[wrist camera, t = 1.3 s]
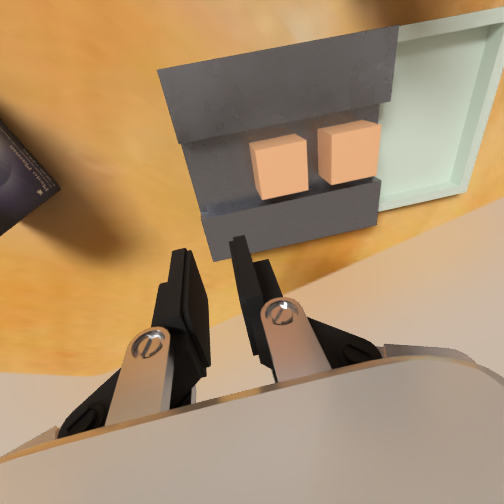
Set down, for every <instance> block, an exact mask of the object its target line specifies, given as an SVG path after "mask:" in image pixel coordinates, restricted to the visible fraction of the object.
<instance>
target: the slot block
mask: <svg viewBox="0 0 504 504" xmlns="http://www.w3.org/2000/svg"><path fill="white" fill-rule="evenodd" d="M398 33H399V25H394V26H389V27H384V28H378V29H373V30H368V31H362V32H357V33H351V34H346V35H341V36H335V37H330V38H325V39H319V40H314V41H309V42H303V43H298V44H293V45H287V46H282V47H277V48H271V49H266V50H260V51H255V52H250V53H244V54H239V55H234V56H228V57H223V58H218V59H212V60H207V61H202V62H196V63H191V64H185V65H180V66H175V67H169V68H164V69H159V70H157V72H158V75H159V78H160V82H161V85H162V89H163V92H164V96H165V99H166V102H167V106H168V109H169V113H170V116H171V119H172V123H173V126H174V130H175V133H176V136H177V140H178V143H179V144H181V146H182V149H183V153H184V156H185V160H186V163H187V167H188V170H189V174H190V177H191V180H192V184H193V187H194V191H195V194H196V198H197V201H198V205H199V208H200V212H201V222H202V225H203V228H204V232H205V235H206V239H207V242H208V245H209V249H210V252H211V256H212V259H213V262H216V261H220V260H225V259H229V258H232V257H231V252H230V247H229V241H233V237H237V236H241V235H245V238H246V241H247V244H248V248H249V251H250V254H251V253H256V252H260V251H265V250H269V249H273V248H278V247H282V246H287V245H291V244H296V243H300V242H304V241H309V240H313V239H318V238H322V237H327V236H331V235H335V234H340V233H344V232H349V231H353V230H358V229H362V228H366V227H371V226H375V225H377V217H378V208H379V200H380V191H381V182H382V180H380V179H378V178H376V177H375V176H371V177H367V178H362V179H358V180H353V181H348V182H344V183H339V184H334V185H331V184H329V183H328V182H327V181H326V180H324V179H323V178H322V177H321V176H319V175H318V134H317V129H320V128H324V127H329V126H334V125H339V124H344V123H349V122H354V121H359V120H365V121H369V122H373V123H377V124H378V118H379V107H380V103H385V102H390V101H391V94H392V85H393V77H394V68H395V59H396V50H397V41H398ZM290 134H296V135H298V136H300V137H302V138H303V139H305V140H306V142H307V166H308V189H309V190H307V191H302V192H297V193H293V194H288V195H283V196H279V197H274V198H270V199H265V200H262V199H261V197H260V195H259V193H258V191H257V189H256V185H255V179H254V173H253V166H252V160H251V153H250V147H249V143H251V142H256V141H261V140H266V139H271V138H275V137H280V136H285V135H290Z"/></svg>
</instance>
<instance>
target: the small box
mask: <svg viewBox="0 0 504 504" xmlns="http://www.w3.org/2000/svg"><path fill="white" fill-rule="evenodd" d="M60 189H61V188H60V187H59V186H58V184H57V183H56V182H55V181H54V180H53V179H52V178H51V176H50V175H49V174H48V173H47V172H46V171H45V170H44V168H43V167H42V166H41V165H40V164H39V163H38V162H37V160H36V159H35V158H34V157H33V156H32V155H31V154H30V152H29V151H28V150H27V149H26V148H25V147H24V146H23V145H22V143H21V142H20V141H19V140H18V139H17V138H16V137H15V135H14V134H13V133H12V132H11V131H10V130H9V129H8V127H7V126H6V125H5V124H4V123H3V122H2V120H1V119H0V236H1V235H2V234H4V233H5V232H6V231H8V230H9V229H10V228H12V227H13V226H14V225H16V224H17V223H18V222H19V221H21V220H22V219H23V218H24V217H26V216H27V215H28V214H29V213H31V212H32V211H33V210H34V209H36V208H37V207H38V206H40V205H41V204H42V203H44V202H45V201H46V200H48V199H49V198H50V197H52V196H53V195H54V194H55V193H57V192H58V191H60Z"/></svg>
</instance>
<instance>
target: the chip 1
mask: <svg viewBox="0 0 504 504" xmlns="http://www.w3.org/2000/svg"><path fill="white" fill-rule="evenodd" d="M249 147H250V153H251V160H252V166H253V173H254V179H255V185H256V189H257V191H258V193H259V195H260V197H261V199H262V200H265V199H270V198H274V197H279V196H283V195H288V194H293V193H297V192H302V191H307V190H309V189H308V166H307V142H306V140H305V139H303V138H302V137H300V136H298V135H296V134H290V135H285V136H280V137H275V138H271V139H266V140H261V141H256V142H251V143H249Z"/></svg>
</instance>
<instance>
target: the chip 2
mask: <svg viewBox="0 0 504 504" xmlns="http://www.w3.org/2000/svg"><path fill="white" fill-rule="evenodd" d="M381 126H382V125H381V124H377V123H373V122H369V121H365V120H359V121H354V122H349V123H344V124H339V125H334V126H329V127H324V128H320V129H317V134H318V175H319V176H321V177H322V178H323V179H324V180H326V181H327V182H328V183H329V184H331V185H334V184H339V183H344V182H348V181H353V180H358V179H362V178H367V177H371V176H376V175H377V165H378V155H379V145H380V135H381Z"/></svg>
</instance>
